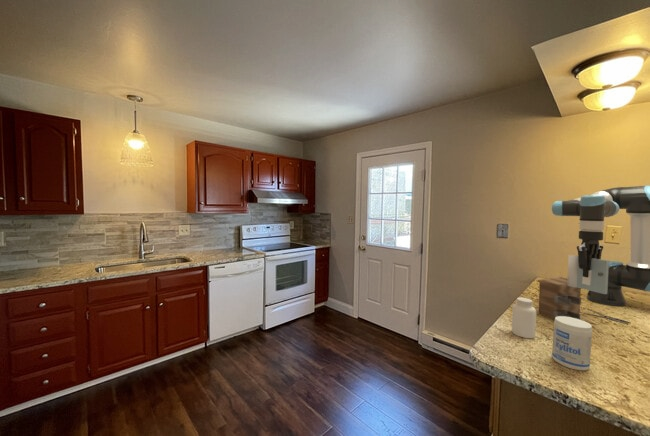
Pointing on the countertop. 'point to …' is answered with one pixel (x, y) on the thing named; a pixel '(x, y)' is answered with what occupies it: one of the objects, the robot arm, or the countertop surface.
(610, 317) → the pliers
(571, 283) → the door
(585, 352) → the supplement tub
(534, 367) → the countertop surface
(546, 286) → the cabinet
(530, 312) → the pill bottle
